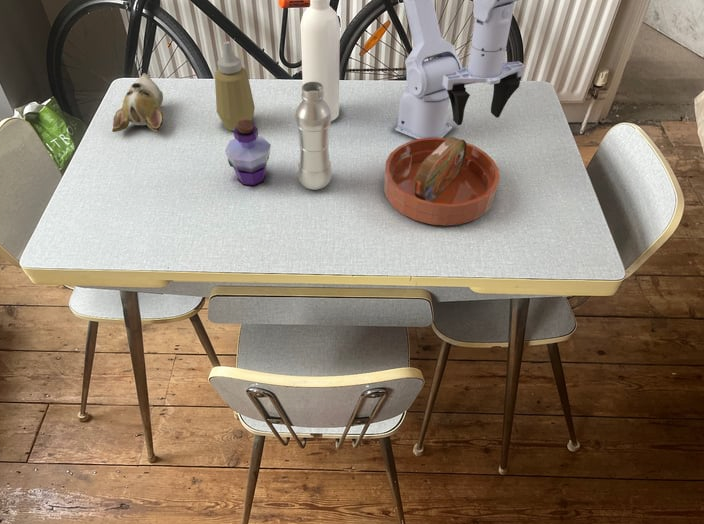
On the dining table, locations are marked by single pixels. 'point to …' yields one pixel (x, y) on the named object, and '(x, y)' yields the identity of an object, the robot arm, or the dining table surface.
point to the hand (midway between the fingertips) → (476, 118)
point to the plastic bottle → (313, 137)
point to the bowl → (456, 200)
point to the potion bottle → (248, 154)
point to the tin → (440, 169)
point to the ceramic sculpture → (140, 106)
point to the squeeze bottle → (232, 90)
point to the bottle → (322, 50)
